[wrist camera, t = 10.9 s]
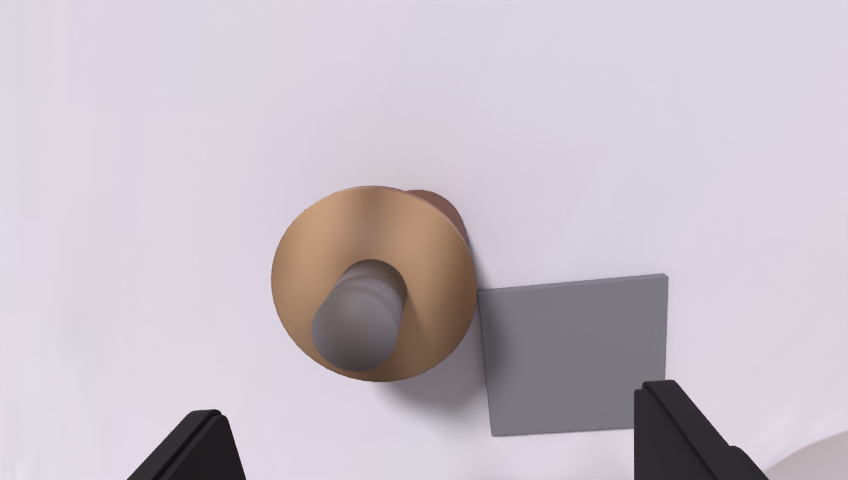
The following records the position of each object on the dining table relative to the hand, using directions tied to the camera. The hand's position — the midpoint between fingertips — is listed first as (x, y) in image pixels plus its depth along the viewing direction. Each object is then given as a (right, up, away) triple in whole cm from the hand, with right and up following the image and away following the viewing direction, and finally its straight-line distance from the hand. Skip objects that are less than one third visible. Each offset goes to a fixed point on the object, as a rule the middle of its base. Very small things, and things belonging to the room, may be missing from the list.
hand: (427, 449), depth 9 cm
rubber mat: (+13, -5, +27) cm, 30 cm away
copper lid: (-3, +2, +16) cm, 16 cm away
